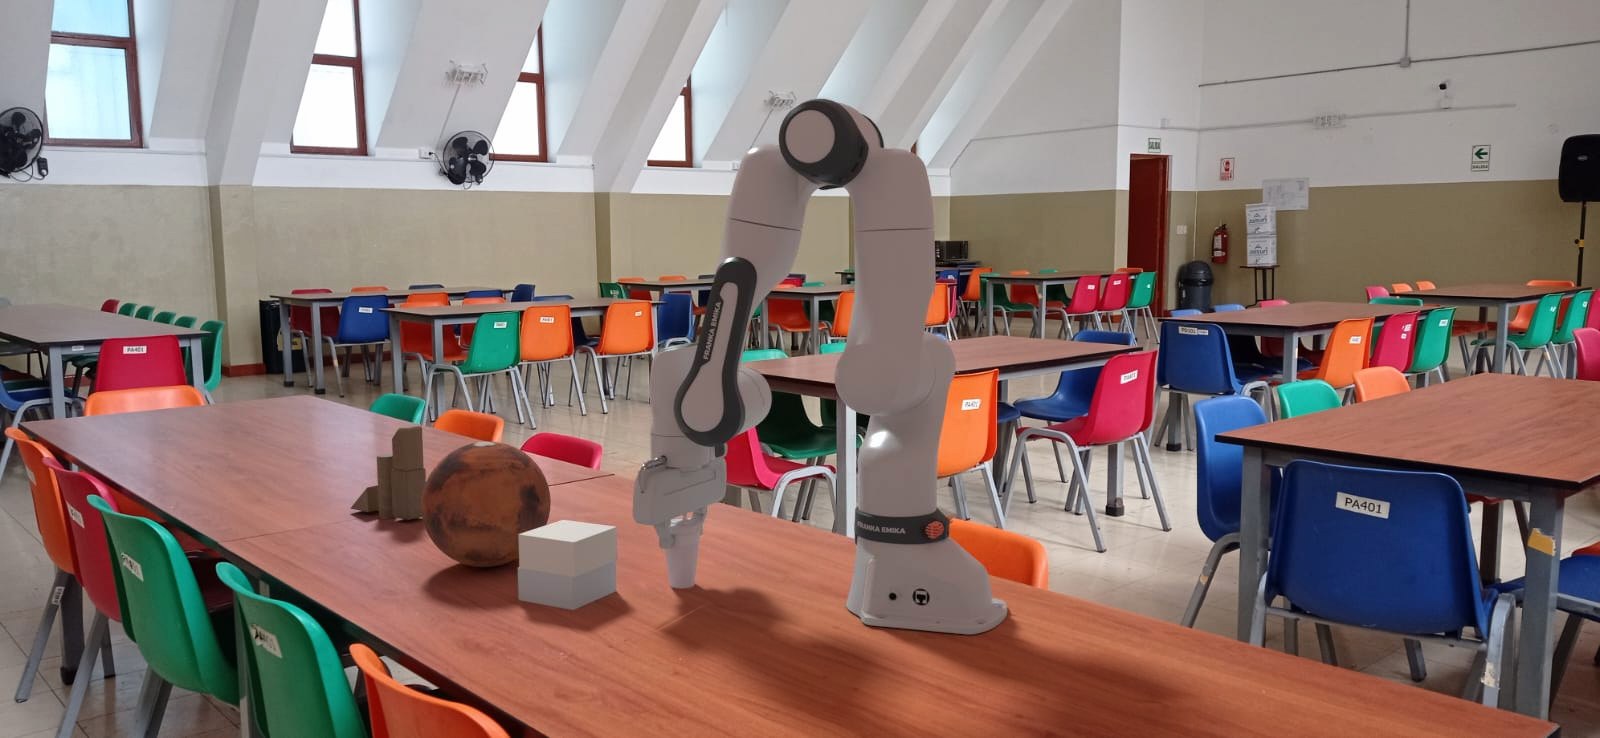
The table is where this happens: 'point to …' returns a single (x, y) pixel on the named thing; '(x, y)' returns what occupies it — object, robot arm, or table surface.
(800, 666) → the table surface
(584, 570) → the tower top block
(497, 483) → the planet model
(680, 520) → the smoothie
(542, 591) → the tower base block
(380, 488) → the wooden block set
